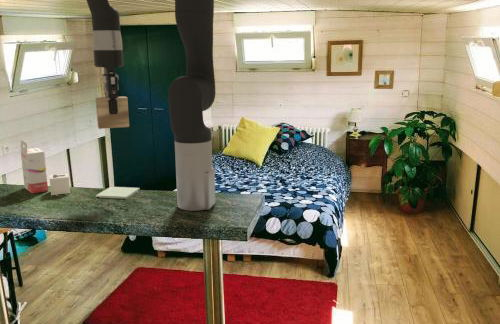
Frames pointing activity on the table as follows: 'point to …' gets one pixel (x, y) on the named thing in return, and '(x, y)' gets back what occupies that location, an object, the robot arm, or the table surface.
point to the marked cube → (59, 184)
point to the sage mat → (117, 192)
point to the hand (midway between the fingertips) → (112, 112)
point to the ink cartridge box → (33, 169)
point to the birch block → (112, 119)
